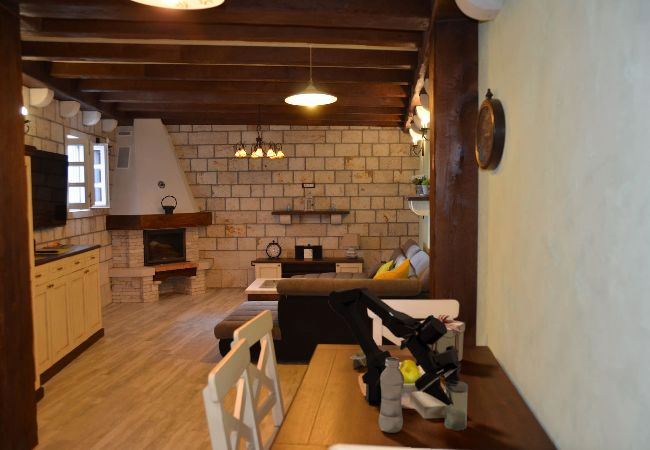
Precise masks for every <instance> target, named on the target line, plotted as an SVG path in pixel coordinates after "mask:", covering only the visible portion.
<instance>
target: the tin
mask: <svg viewBox="0 0 650 450" xmlns="http://www.w3.org/2000/svg"><path fill="white" fill-rule="evenodd" d="M445 390H446V395H447V396H448V398H449V400H450V402H451V404H450V405H449V406H448V405H446V404H445V417H444V427H445V428H446V429H447V430H450V429H451V431H455V432H460V430H462V431H465V430H466V429H467V422H468V421H467V417H468V391H469V385H468V384H467V383H466V382H464V381H462V380H461V381H448V382H445ZM464 429H465V430H464Z"/></svg>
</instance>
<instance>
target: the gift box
mask: <svg viewBox="0 0 650 450" xmlns="http://www.w3.org/2000/svg"><path fill="white" fill-rule="evenodd" d="M448 318H450V315H446V314H439V316H438V317H437V319H439V320H440V321H441V322H443V323H444V324H445V326H446V327H447V333H446V334H445V335H444V336H443V337H442V338H440V339H439V340H438V341H437V342H436V343H435V344H434V345H430V344H429V346H430V347H431V349H432V350H435V349H436V350H438V352H439V353H441V352H444V351H446V347H448V346H451V345H453V346H454V347H455V348H456V349H457V350H458V351H459V353H458V358H459V359H458V361H459V362H461V361H462V360H463V354H464V353H463V349H464V335H465V331H466V322H467V321H466V322H465V321H459V320H453V319H448ZM424 321H425V319H424V320H421V321H420V322H421V323H423V322H424ZM417 334H418V333H417V332H416V333H415V335H417Z"/></svg>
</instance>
